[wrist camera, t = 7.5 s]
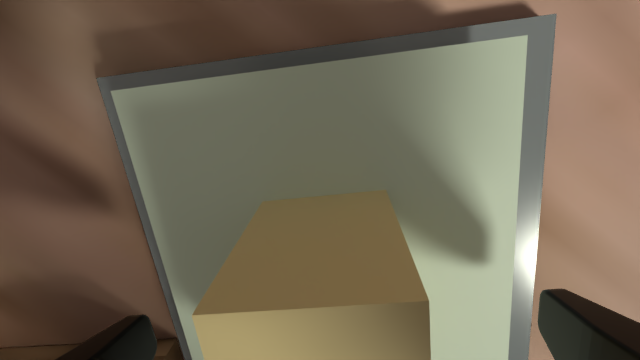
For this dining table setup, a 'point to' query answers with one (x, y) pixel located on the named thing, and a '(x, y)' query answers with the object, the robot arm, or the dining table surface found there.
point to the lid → (338, 203)
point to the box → (44, 356)
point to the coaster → (536, 59)
